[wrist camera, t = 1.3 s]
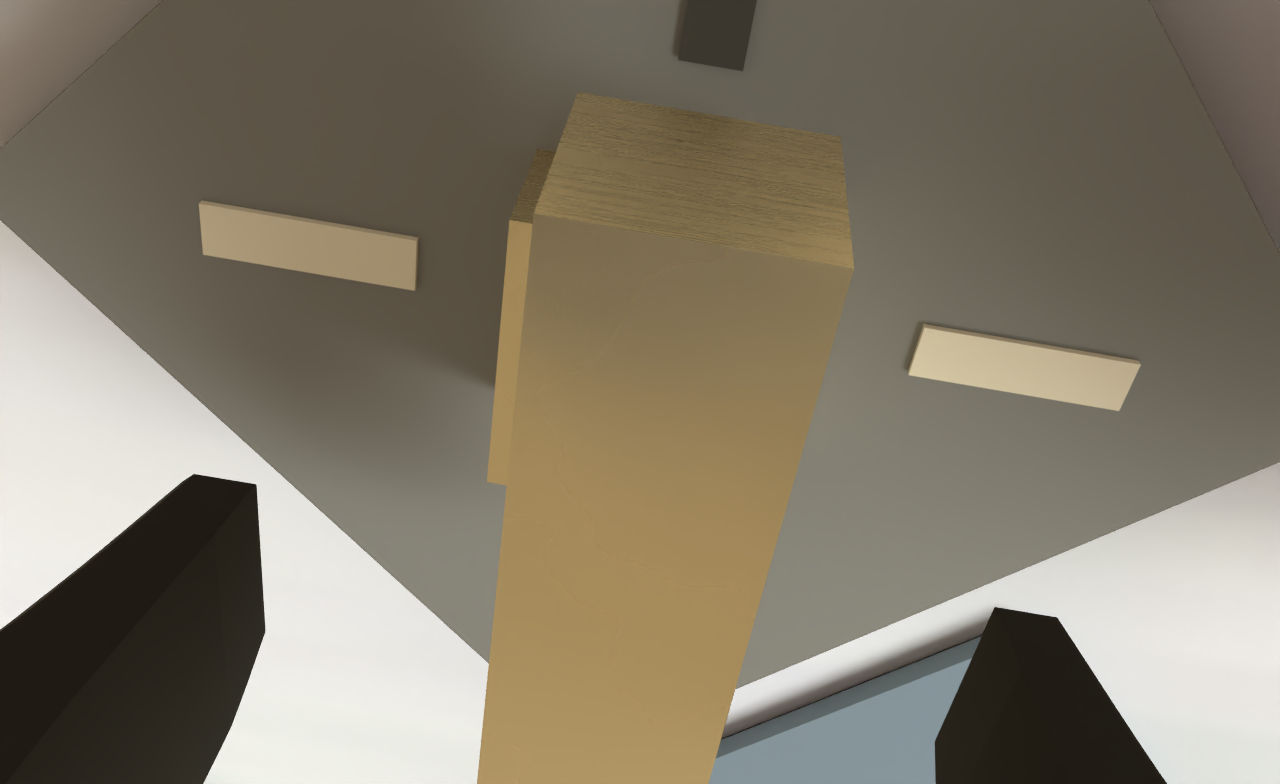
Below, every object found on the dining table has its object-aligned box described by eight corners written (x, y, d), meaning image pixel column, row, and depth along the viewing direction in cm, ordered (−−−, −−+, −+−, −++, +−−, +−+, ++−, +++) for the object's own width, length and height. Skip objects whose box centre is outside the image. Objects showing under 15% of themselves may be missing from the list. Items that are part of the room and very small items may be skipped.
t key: (556, -48, 14) (426, 195, 9) (893, 10, 14) (961, 286, 9) (501, 520, 19) (398, 882, 14) (747, 561, 19) (735, 938, 14)
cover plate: (829, -602, 12) (834, -616, 11) (1341, 383, 18) (1370, 429, 17) (-1, 154, 17) (-44, 187, 17) (592, 709, 23) (585, 756, 22)
